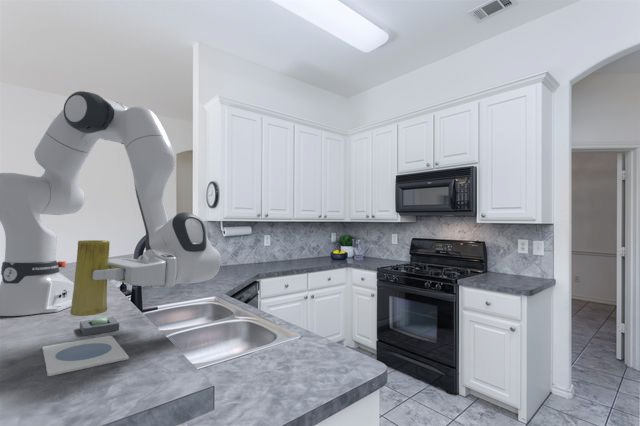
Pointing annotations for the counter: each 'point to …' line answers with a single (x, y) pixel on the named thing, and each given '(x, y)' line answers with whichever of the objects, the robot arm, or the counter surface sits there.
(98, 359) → the paper pad
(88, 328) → the button collar
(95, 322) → the button
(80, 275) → the vase
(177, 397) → the counter surface
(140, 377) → the counter surface
